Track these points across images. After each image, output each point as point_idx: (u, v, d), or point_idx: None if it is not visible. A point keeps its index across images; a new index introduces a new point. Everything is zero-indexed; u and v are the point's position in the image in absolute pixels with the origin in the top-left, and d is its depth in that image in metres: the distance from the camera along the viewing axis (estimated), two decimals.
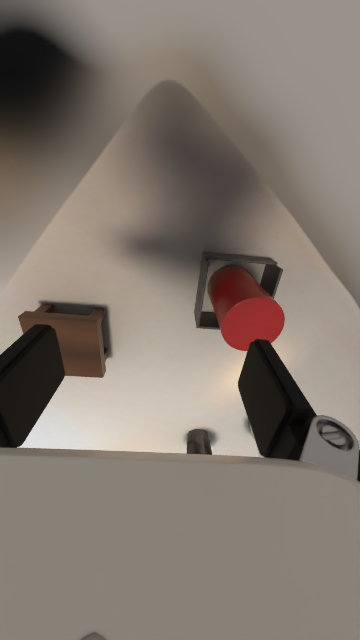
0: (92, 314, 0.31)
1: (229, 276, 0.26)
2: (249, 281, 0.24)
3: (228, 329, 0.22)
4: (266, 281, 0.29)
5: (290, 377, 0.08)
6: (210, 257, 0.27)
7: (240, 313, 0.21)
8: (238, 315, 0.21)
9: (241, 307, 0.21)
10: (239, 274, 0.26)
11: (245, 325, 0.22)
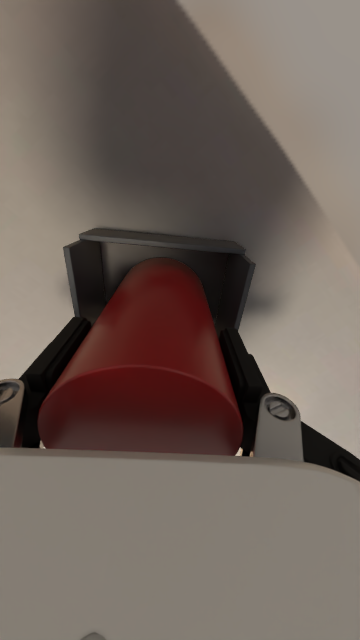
0: None
1: (132, 280, 0.11)
2: (162, 294, 0.09)
3: None
4: (227, 289, 0.14)
5: (249, 360, 0.08)
6: (93, 237, 0.12)
7: (87, 412, 0.06)
8: (82, 418, 0.06)
9: (81, 396, 0.06)
10: (156, 276, 0.11)
11: (120, 441, 0.07)
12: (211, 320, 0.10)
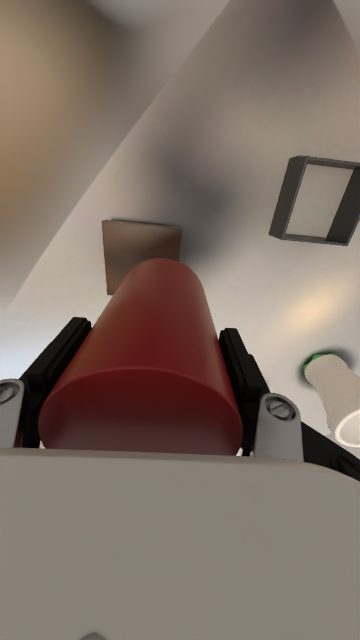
0: None
1: (131, 281, 0.11)
2: (162, 295, 0.09)
3: None
4: (353, 190, 0.28)
5: (249, 360, 0.08)
6: (304, 157, 0.26)
7: (87, 413, 0.06)
8: (82, 419, 0.06)
9: (82, 397, 0.06)
10: (156, 276, 0.11)
11: (119, 442, 0.07)
12: (211, 321, 0.11)
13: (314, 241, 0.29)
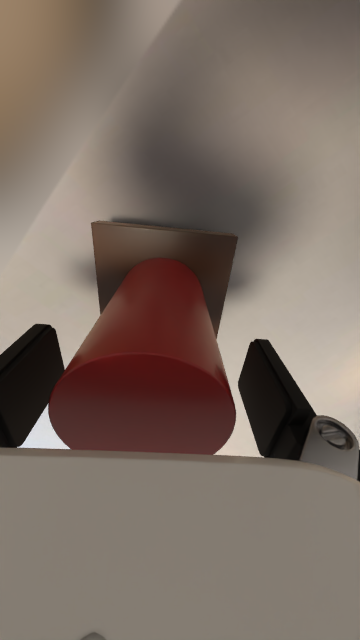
0: None
1: (133, 279, 0.12)
2: (162, 291, 0.10)
3: (76, 433, 0.08)
4: None
5: (290, 377, 0.08)
6: None
7: (94, 396, 0.07)
8: (89, 402, 0.07)
9: (89, 381, 0.06)
10: (156, 274, 0.12)
11: (123, 425, 0.07)
12: (208, 316, 0.11)
13: None
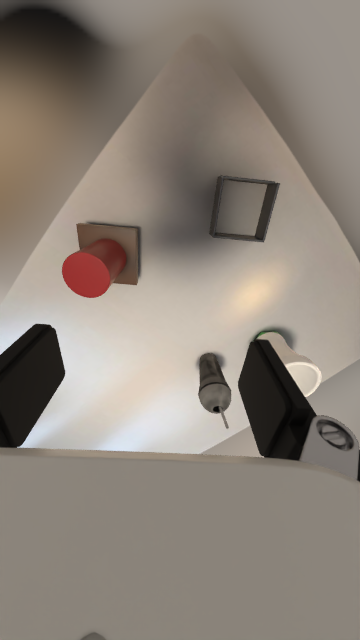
0: None
1: None
2: (96, 245, 0.32)
3: (69, 279, 0.29)
4: (266, 200, 0.38)
5: (290, 377, 0.08)
6: (224, 176, 0.35)
7: (73, 265, 0.29)
8: (72, 267, 0.29)
9: (71, 260, 0.28)
10: (98, 242, 0.34)
11: (80, 275, 0.29)
12: (114, 256, 0.33)
13: (238, 238, 0.38)
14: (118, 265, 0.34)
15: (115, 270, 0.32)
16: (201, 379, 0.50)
